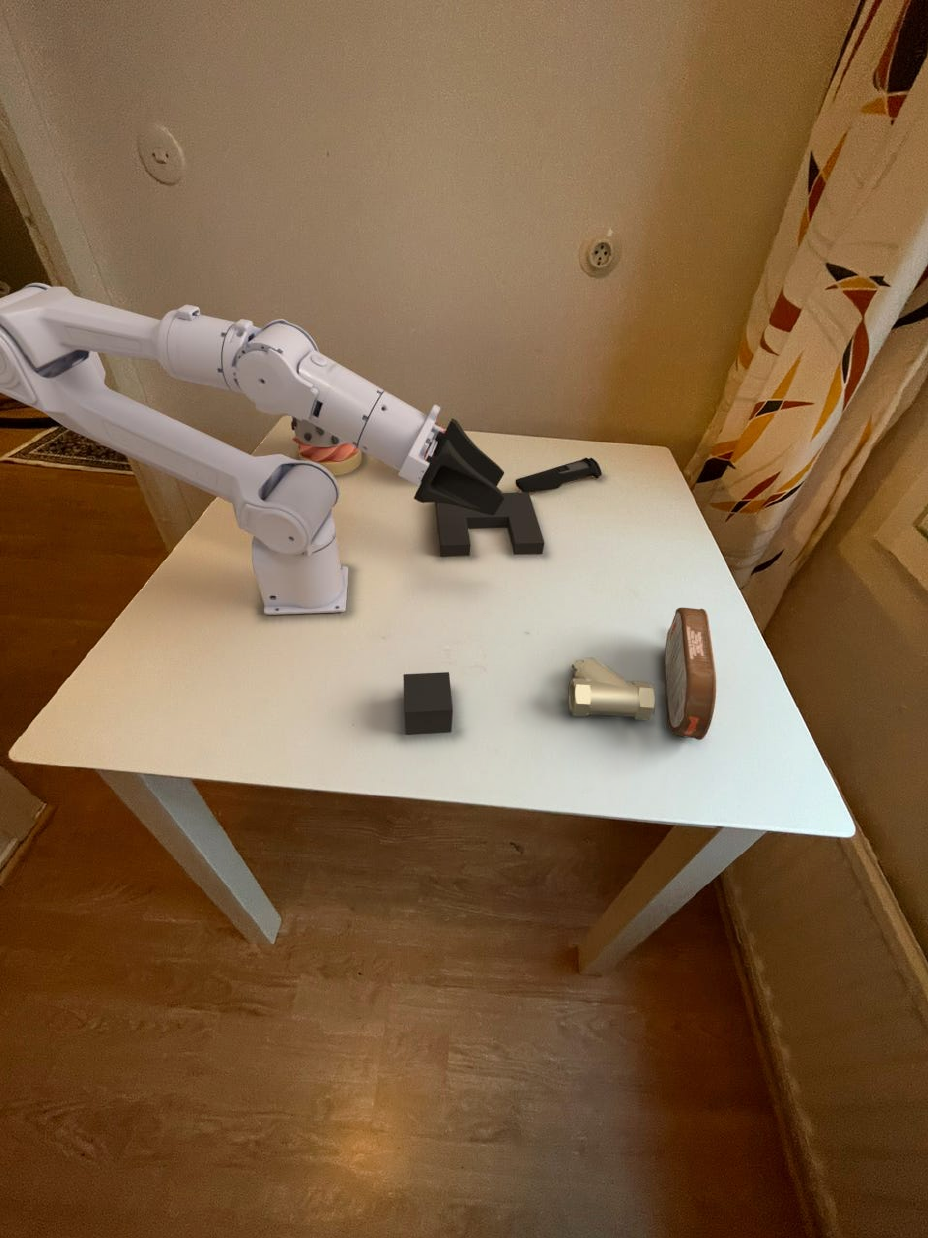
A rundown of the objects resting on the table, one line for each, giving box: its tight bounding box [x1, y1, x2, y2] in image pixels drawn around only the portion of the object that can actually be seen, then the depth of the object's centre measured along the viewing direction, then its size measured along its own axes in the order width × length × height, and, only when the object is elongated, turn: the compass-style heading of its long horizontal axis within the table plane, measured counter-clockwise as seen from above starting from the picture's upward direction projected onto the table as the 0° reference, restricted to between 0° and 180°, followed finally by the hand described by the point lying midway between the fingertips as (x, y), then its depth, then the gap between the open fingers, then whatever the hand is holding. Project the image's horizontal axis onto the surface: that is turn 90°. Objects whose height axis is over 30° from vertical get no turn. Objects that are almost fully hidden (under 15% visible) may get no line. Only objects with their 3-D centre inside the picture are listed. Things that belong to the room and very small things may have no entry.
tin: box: [664, 607, 717, 741], centre depth 58 cm, size 15×3×8 cm, turn 168°
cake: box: [290, 416, 363, 477], centre depth 85 cm, size 10×11×15 cm
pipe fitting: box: [567, 657, 656, 721], centre depth 59 cm, size 8×4×7 cm
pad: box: [402, 671, 454, 736], centre depth 56 cm, size 5×5×4 cm
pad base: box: [434, 491, 546, 558], centre depth 79 cm, size 14×12×2 cm
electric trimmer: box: [515, 457, 603, 494], centre depth 88 cm, size 4×16×3 cm, turn 118°
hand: (499, 492), depth 54 cm, fingers open, 7 cm apart
